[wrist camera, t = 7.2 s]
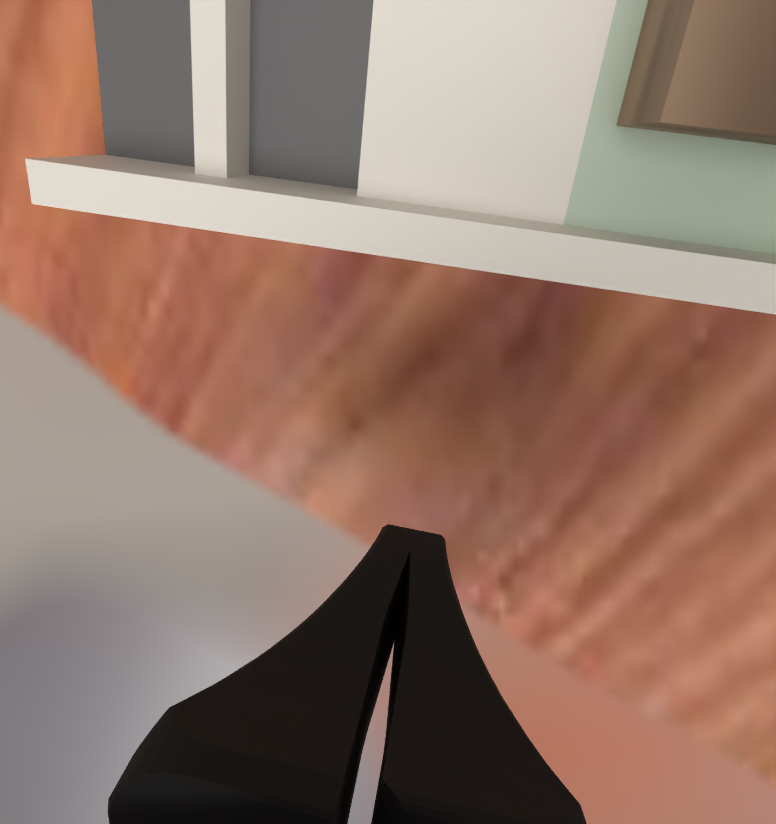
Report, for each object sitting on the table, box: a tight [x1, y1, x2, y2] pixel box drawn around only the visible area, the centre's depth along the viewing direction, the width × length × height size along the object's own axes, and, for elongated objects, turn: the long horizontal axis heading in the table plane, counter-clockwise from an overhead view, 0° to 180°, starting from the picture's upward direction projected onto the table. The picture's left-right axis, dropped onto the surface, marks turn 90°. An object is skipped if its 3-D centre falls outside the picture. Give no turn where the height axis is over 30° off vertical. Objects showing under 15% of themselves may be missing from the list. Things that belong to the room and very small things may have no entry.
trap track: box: [25, 0, 776, 314], centre depth 15 cm, size 22×12×4 cm, turn 84°
